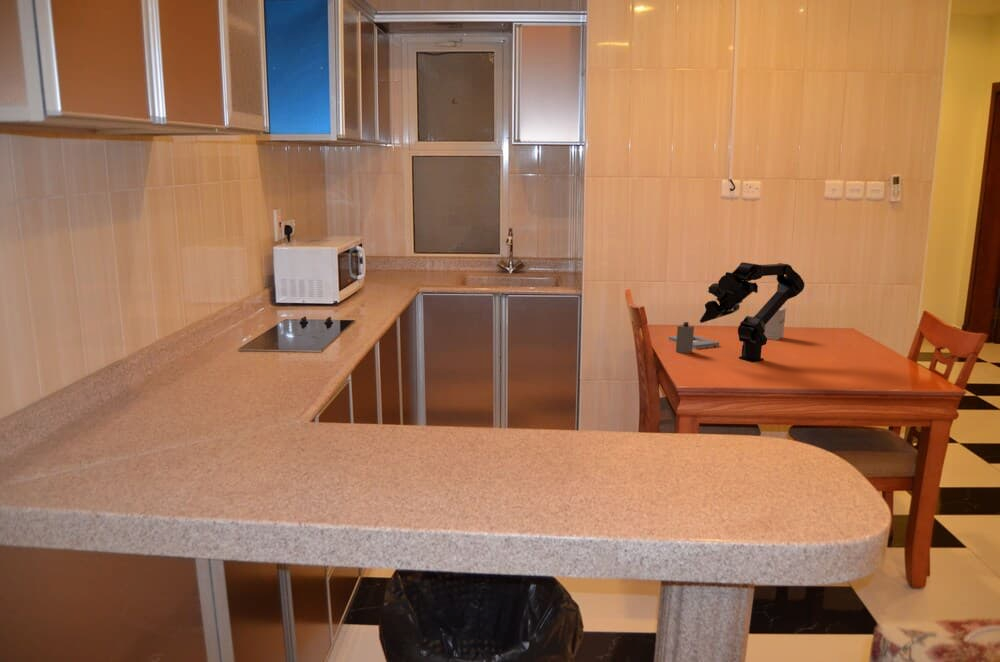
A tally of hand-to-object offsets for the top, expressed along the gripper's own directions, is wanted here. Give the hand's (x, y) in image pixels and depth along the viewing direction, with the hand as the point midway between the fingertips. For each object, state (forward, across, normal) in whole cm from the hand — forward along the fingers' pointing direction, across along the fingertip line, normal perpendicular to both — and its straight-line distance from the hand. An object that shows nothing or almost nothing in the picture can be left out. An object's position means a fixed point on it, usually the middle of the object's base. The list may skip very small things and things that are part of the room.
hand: (706, 320), depth 290 cm
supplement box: (+5, -50, +14) cm, 52 cm away
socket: (+18, -16, +1) cm, 24 cm away
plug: (+15, 0, +4) cm, 16 cm away
